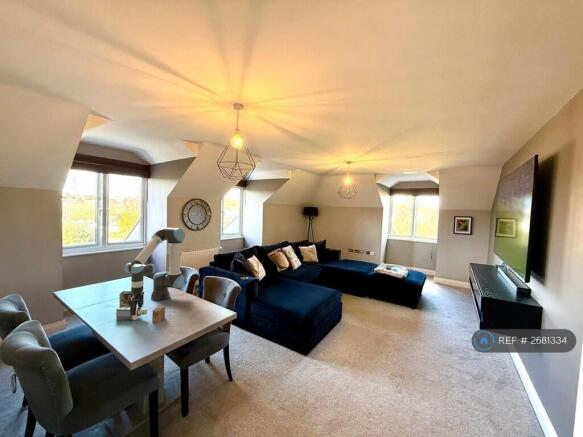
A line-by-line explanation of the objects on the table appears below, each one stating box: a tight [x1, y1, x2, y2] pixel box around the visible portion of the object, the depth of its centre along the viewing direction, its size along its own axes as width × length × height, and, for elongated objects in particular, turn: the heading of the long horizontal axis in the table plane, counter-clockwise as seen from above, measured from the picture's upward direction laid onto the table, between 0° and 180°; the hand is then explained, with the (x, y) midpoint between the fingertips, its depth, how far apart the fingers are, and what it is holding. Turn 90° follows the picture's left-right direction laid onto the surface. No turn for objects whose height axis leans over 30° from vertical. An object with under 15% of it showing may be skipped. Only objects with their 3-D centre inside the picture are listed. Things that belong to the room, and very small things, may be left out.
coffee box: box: [119, 290, 133, 307], centre depth 188 cm, size 9×6×16 cm
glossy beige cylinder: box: [131, 307, 148, 318], centre depth 177 cm, size 5×17×5 cm, turn 91°
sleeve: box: [115, 306, 134, 322], centre depth 177 cm, size 6×10×8 cm, turn 91°
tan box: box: [151, 305, 166, 324], centre depth 178 cm, size 8×5×9 cm, turn 1°
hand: (136, 317), depth 178 cm, fingers closed on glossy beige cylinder, 5 cm apart
